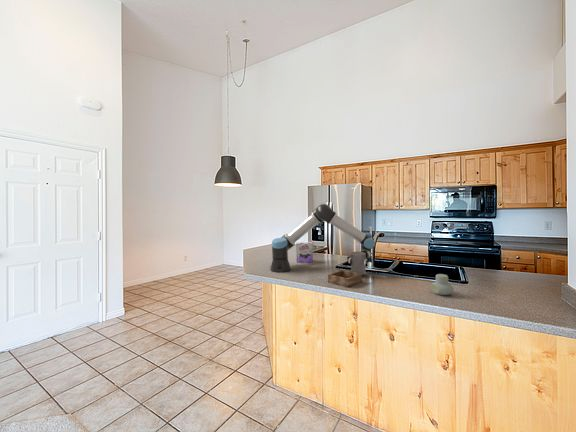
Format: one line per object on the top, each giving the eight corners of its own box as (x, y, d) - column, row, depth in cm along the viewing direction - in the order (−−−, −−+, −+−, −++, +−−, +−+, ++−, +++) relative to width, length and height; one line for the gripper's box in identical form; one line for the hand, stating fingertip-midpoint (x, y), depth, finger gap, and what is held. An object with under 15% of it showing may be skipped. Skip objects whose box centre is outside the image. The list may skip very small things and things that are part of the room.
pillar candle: (349, 271, 189) (348, 250, 188) (362, 270, 190) (362, 249, 189) (353, 275, 180) (353, 253, 179) (368, 274, 181) (367, 252, 179)
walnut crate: (328, 282, 172) (327, 274, 172) (342, 277, 182) (342, 270, 182) (347, 287, 161) (347, 279, 161) (362, 281, 171) (361, 274, 171)
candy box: (296, 262, 230) (296, 243, 229) (297, 260, 236) (296, 241, 235) (312, 262, 228) (312, 242, 227) (313, 260, 233) (312, 241, 233)
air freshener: (428, 290, 152) (428, 273, 151) (442, 289, 152) (442, 272, 152) (440, 297, 141) (440, 278, 140) (456, 296, 142) (456, 277, 141)
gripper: (379, 261, 195) (373, 269, 176) (349, 259, 206) (340, 265, 186) (379, 251, 195) (373, 257, 175) (348, 249, 205) (340, 255, 185)
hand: (356, 261), depth 180 cm, fingers closed on pillar candle, 9 cm apart
